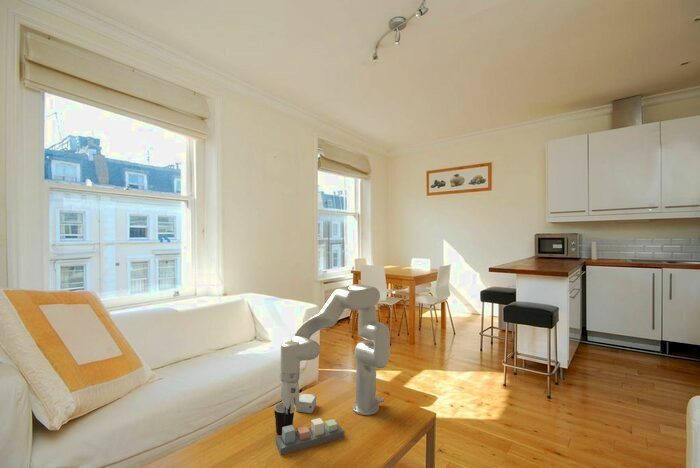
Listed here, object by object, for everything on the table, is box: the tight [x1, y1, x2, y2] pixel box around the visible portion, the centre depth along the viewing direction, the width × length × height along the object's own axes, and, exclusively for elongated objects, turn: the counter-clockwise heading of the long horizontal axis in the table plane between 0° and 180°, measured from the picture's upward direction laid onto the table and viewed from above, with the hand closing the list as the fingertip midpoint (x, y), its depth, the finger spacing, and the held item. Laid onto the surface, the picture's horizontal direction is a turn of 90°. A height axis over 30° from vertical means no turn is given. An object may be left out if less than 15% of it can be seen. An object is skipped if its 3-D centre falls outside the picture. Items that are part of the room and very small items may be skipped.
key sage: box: [324, 418, 339, 433], centre depth 133 cm, size 4×4×4 cm
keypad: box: [275, 421, 345, 456], centre depth 129 cm, size 26×8×2 cm, turn 117°
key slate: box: [282, 424, 296, 445], centre depth 125 cm, size 4×4×4 cm
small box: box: [295, 393, 317, 414], centre depth 153 cm, size 8×8×5 cm
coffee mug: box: [273, 401, 296, 436], centre depth 136 cm, size 12×9×10 cm
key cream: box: [310, 417, 325, 436], centre depth 130 cm, size 4×4×4 cm
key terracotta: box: [296, 425, 310, 440], centre depth 127 cm, size 4×4×4 cm
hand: (288, 422), depth 125 cm, fingers closed
